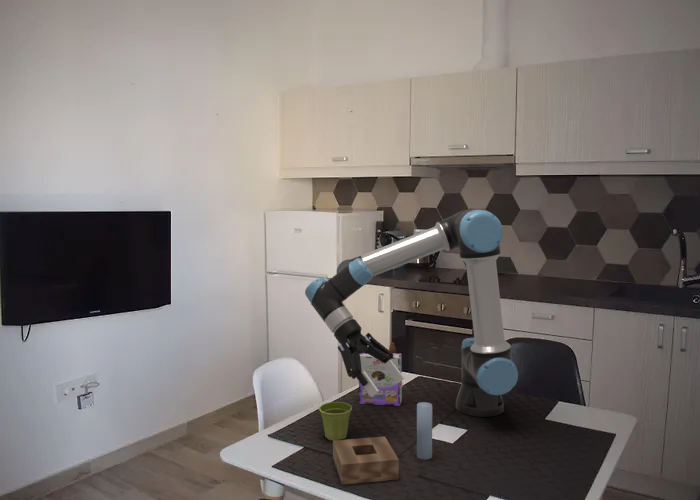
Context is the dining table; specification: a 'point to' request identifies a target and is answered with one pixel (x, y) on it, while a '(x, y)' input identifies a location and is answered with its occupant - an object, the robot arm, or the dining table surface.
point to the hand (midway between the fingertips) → (388, 387)
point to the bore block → (365, 460)
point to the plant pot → (335, 419)
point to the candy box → (380, 382)
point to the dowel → (424, 430)
